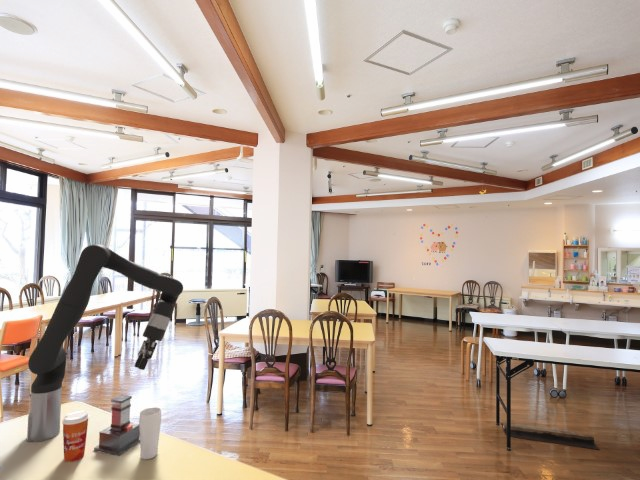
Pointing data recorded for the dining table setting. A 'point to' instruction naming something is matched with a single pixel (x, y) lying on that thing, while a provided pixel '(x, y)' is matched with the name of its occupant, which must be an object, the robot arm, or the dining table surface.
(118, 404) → the column
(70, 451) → the paper cup
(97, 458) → the dining table surface
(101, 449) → the sleeve
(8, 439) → the dining table surface
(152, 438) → the drinking glass
